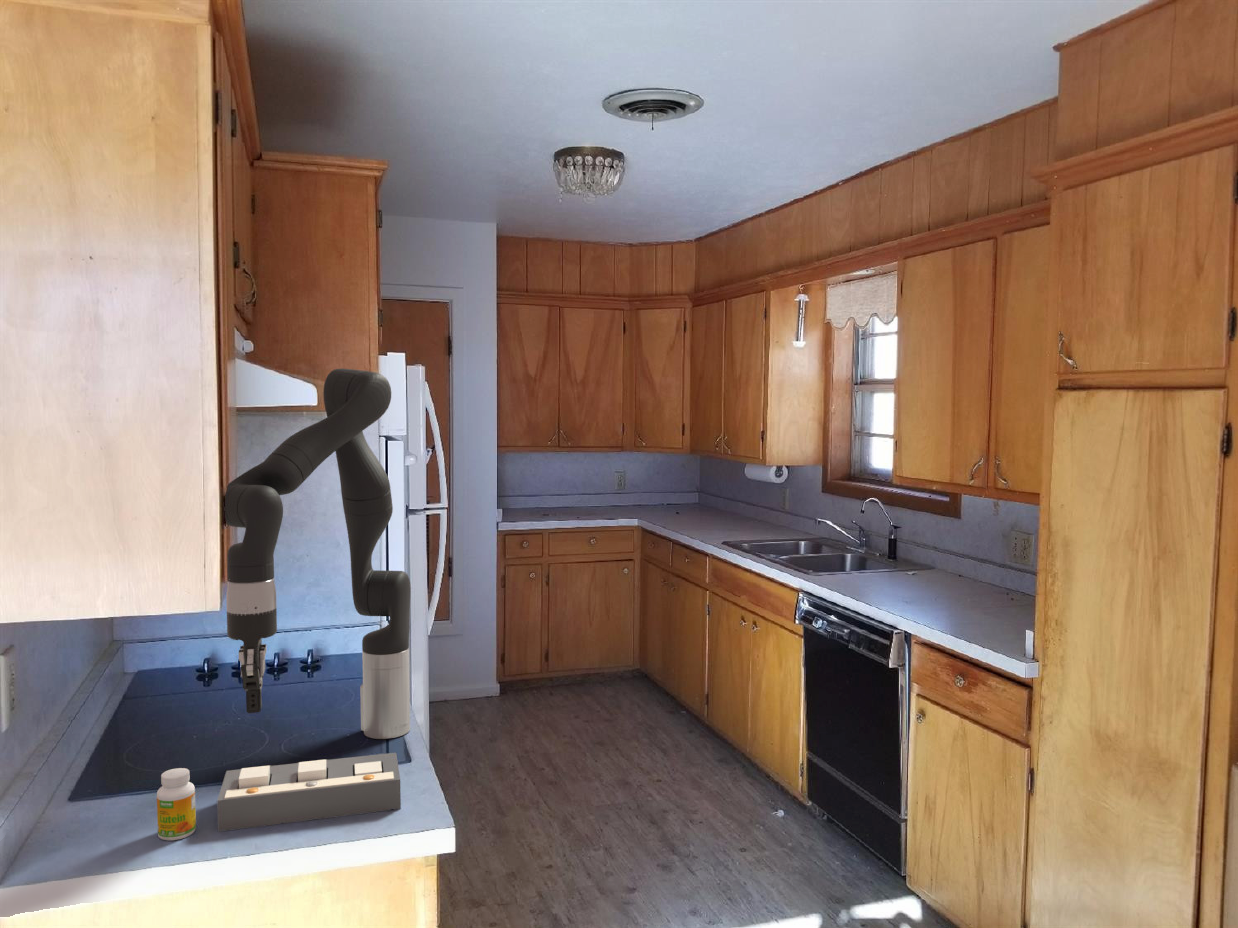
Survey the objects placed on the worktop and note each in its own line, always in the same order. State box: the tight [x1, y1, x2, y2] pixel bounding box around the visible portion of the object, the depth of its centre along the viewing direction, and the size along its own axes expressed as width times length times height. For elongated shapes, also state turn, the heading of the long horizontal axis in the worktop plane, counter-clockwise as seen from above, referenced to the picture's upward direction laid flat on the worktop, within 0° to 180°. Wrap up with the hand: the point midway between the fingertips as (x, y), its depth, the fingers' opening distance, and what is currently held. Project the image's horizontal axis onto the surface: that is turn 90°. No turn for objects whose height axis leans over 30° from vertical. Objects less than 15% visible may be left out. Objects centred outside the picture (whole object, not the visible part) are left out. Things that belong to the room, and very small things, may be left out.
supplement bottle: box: [156, 767, 197, 842], centre depth 142 cm, size 5×5×10 cm
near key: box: [239, 764, 271, 789], centre depth 149 cm, size 4×4×3 cm
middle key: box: [298, 759, 327, 782], centre depth 152 cm, size 4×4×3 cm
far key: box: [355, 761, 382, 776], centre depth 155 cm, size 4×4×3 cm
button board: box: [216, 752, 402, 833], centre depth 152 cm, size 28×12×5 cm, turn 107°
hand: (254, 711), depth 148 cm, fingers closed
